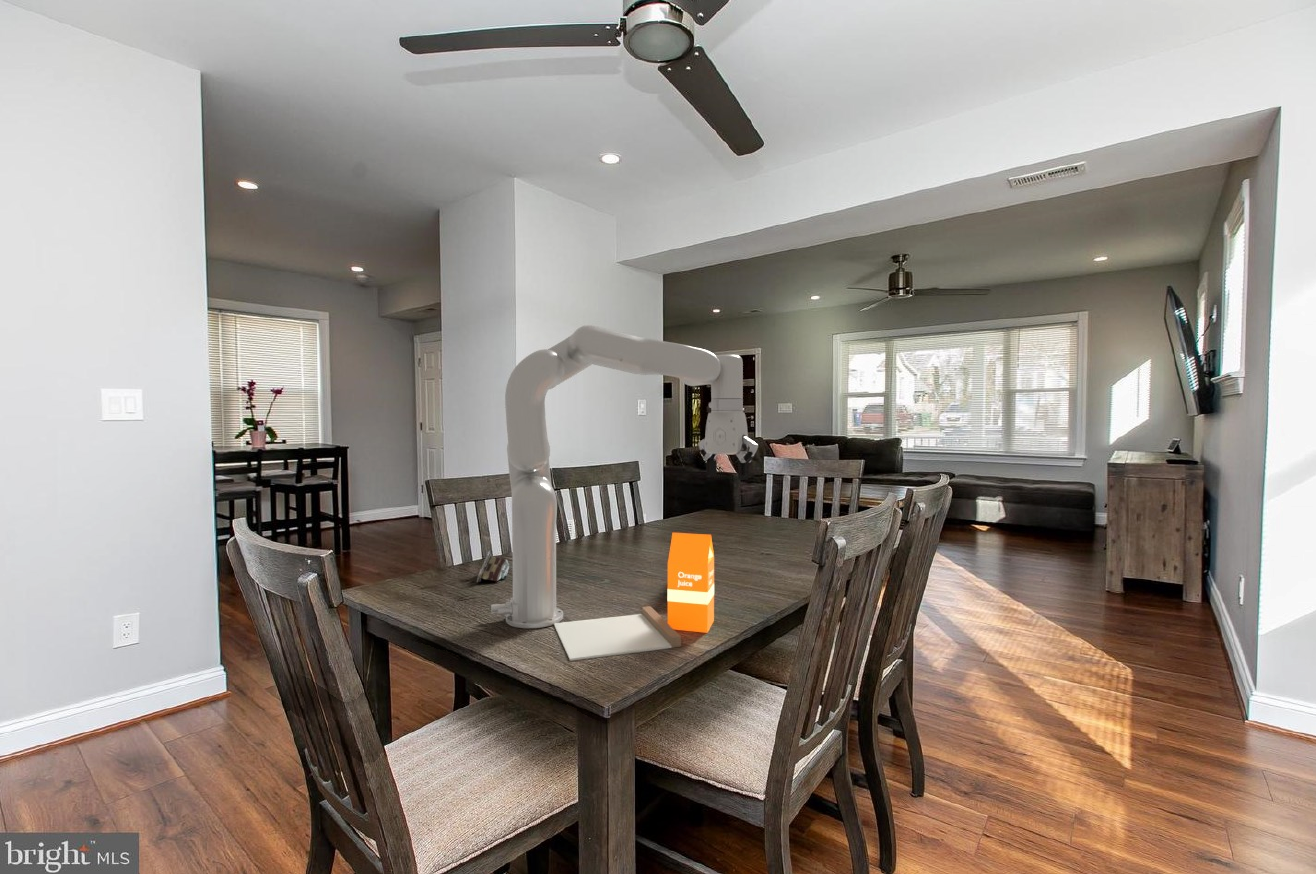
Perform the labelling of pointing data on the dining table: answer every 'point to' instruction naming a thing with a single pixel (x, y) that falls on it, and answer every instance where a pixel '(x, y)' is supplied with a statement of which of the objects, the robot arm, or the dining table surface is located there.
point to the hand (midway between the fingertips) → (727, 478)
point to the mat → (617, 635)
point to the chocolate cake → (493, 568)
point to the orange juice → (691, 582)
